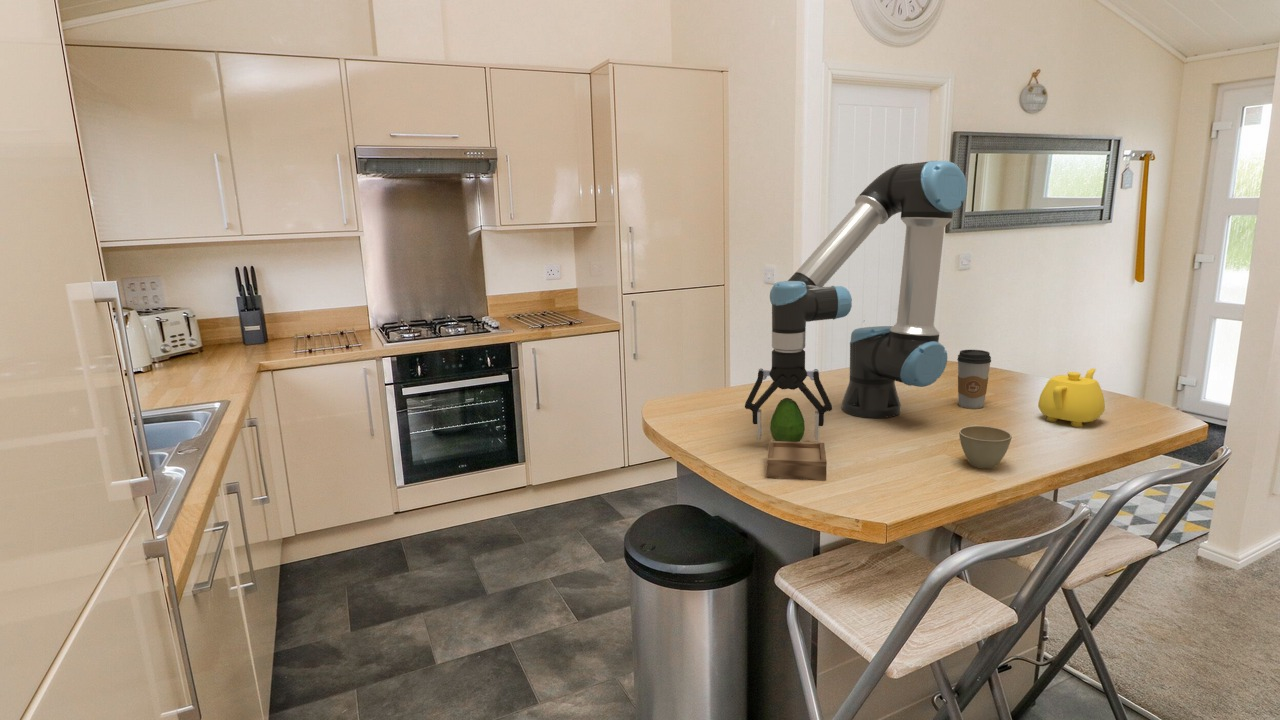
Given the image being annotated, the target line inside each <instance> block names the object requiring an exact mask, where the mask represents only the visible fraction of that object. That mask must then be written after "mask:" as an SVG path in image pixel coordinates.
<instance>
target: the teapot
mask: <svg viewBox="0 0 1280 720" xmlns="http://www.w3.org/2000/svg"><path fill="white" fill-rule="evenodd" d="M1096 370H1097V369H1096V368H1094V367H1093V368H1090V369H1088V370H1087V371H1086V374H1085V375H1084V376H1081V375H1082V374H1081V373H1080V372H1076V371H1075V372H1074V371H1068V372H1067V374H1061V375H1056V376H1052V377H1051V378H1049V380H1048V381H1047V382H1046V384H1045V386H1044V387H1043V389H1042V391H1041V392H1040V395H1039V399H1038V404H1037V406H1038V408H1039V411H1040V413H1041V414H1042V415H1044V416H1047V417H1046V418H1045V421H1047V422H1051V423H1052V422H1053V423H1055V422H1057V421H1058V420H1063V421H1068V422H1069V421H1070V426H1071V427H1074V428H1083V423H1095V420H1098V419H1099V418H1100V417H1101V416H1102V415H1103V414H1104V412H1105V406H1106V405H1105V404H1106V403H1105V396H1104V392H1103V390H1102V387H1101V386H1100V384H1099V381H1098V380H1096V379H1093V378H1094V374H1095V372H1096Z"/></svg>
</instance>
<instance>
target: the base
mask: <svg viewBox="0 0 1280 720" xmlns="http://www.w3.org/2000/svg"><path fill="white" fill-rule="evenodd" d="M767 451H768V452H767V457H766V458H767V461H766V462H767V463H766V464H767V465H766V466H767V467H766V469H767V470H766V471H767V473H766V476H767V478H768V479H771V478H772V479H788V480H789V479H791V480H810V481H811V480H814V481H827V468H828V467H827V464H828V461H827V455H826V446H825V442H817V441H815V442H813V441H811V442H810V441H800V442H787V441H775V440H769V441H768V449H767Z"/></svg>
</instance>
